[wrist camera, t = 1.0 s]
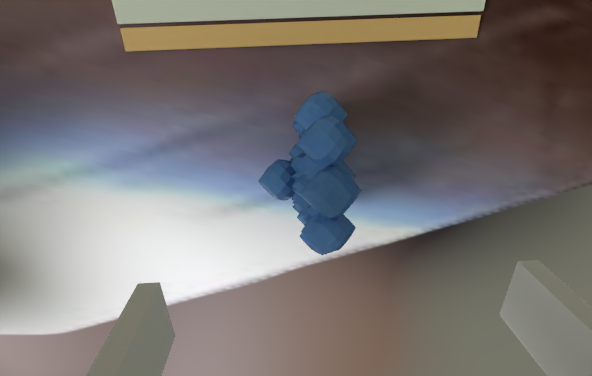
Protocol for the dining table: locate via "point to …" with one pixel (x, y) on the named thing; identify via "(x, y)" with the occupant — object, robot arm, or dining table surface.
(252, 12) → the mat
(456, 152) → the dining table surface
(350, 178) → the grapes
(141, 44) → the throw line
